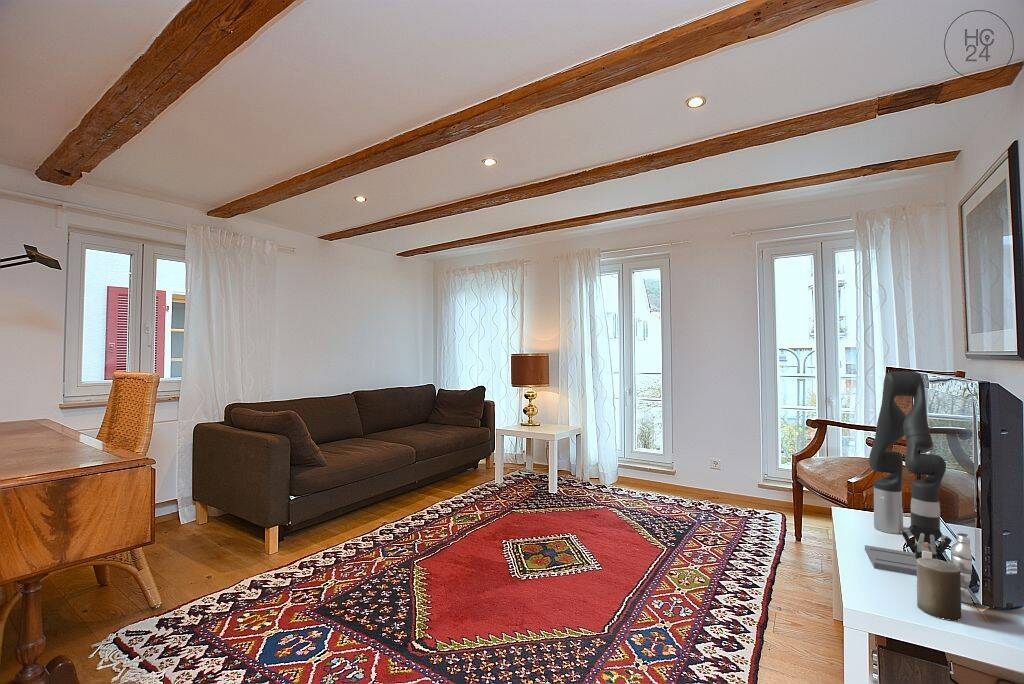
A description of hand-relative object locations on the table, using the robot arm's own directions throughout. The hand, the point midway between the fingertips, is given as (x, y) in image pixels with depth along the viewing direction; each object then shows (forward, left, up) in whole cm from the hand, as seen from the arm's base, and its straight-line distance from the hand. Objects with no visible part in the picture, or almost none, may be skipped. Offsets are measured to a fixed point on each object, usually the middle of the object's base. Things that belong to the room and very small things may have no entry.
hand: (925, 562), depth 160 cm
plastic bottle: (+8, +16, -4) cm, 18 cm away
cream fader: (0, 0, -1) cm, 1 cm away
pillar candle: (+22, +17, -4) cm, 28 cm away
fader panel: (0, -6, -4) cm, 7 cm away
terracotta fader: (-7, -5, -1) cm, 9 cm away
